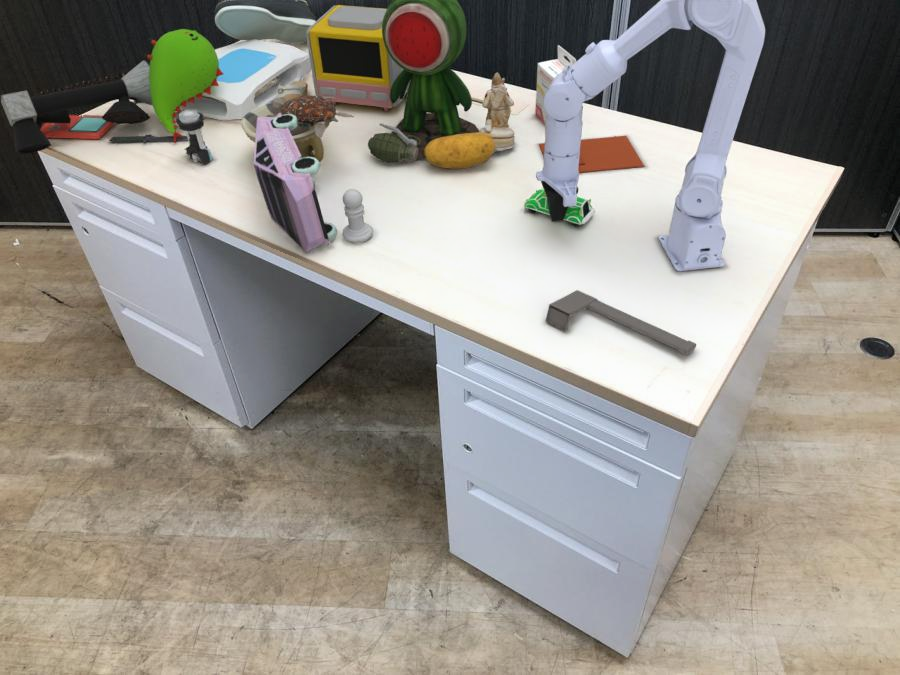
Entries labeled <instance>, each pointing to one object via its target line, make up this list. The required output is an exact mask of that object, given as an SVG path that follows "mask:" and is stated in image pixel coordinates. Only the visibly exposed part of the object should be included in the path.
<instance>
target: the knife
mask: <svg viewBox="0 0 900 675" xmlns="http://www.w3.org/2000/svg"><path fill="white" fill-rule="evenodd" d="M187 140H188V137H187V135H183V137H180V136H178V137H177V139H176V141H187ZM171 141H173V142H174V135H169V136H154V135H153V134H151V133H150V134H145V135H126V136H125V135H124V136H119V135H118V136H112V137H111V138H109V141H108V142H110V143H113V144H115V143H137V142H138V143H139V142H140V143H141V142H143V144H147V142H171Z"/></svg>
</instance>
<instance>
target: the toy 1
mask: <svg viewBox="0 0 900 675" xmlns="http://www.w3.org/2000/svg"><path fill="white" fill-rule="evenodd" d="M147 43H150V44H152V45H153V48H152V51H151V54H147V53H144V54H143V55H142V56H143V58H144V59H148V60H149V66H150V68H149V85H150V94H151V99H152V104H153V105H152V107H153V110H154V113H155V115H156V117H157V118H158V120H159V122H160V123H161V125H162V126H163V127H165V129H166V130H167V131H168V132H169V133H171V134H173V135H172V136H174V141H173V142H174V144H176V142H177V140H176V139H177V137H178V136H180V137H183V136H184V134H181V133H180V132H178V131H177V129H178V128H179V125H175V124H176V119H174V118H177V117H178V116H179V115H178V114H177V113H178V112H179V113H181V112H182V110H180V106H184V107H187V106H186V102H187V101H189V102H191V103H193V104H194V98H195V97H197V98H199V99H201V100H202V94H203V93H207V94H209V95H211V92H210V90H211V87H212V86H219V85H218V83H217V77H218V76H220V75H223V74H224V73H223V72H221V70H220V69H219V62H218V58H217V54H216V52H215V48H214V46H213V45H212V43H211V42H210V41H209V40H208V39H207V38H206V37H205V36H203V35H202V34H200V33H199V32H198V31H197V30H195V29H194V30H192V29H187V28H179V29H176V30H173V31H168V32H166V33H164V34H163V35H162V36H160V37H159V39H158V40H154V39H152V38H151V37H148V38H147ZM176 112H177V113H176Z"/></svg>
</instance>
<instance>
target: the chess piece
mask: <svg viewBox="0 0 900 675" xmlns="http://www.w3.org/2000/svg"><path fill="white" fill-rule="evenodd" d="M363 199H364V198H363V194H362V193H361V192H360V191H359V190H358V189H356V188H349V189H347V190H345V192H344V193H343V195H342V204H343V205H344V215H345V216H346V218H347V223H348V224H347V225H346V226H345V227H343V229H342V232H341V233H342V237H343V239H344V240H345V241H346V242H351V243H363V242H365V241H368V240H369V239H370V238H372V236H373V235H374V229H373V227H372V225H370V224H369V223H367V222H365V219H364V215H365V213H366V212H365V206H364V204H363Z"/></svg>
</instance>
